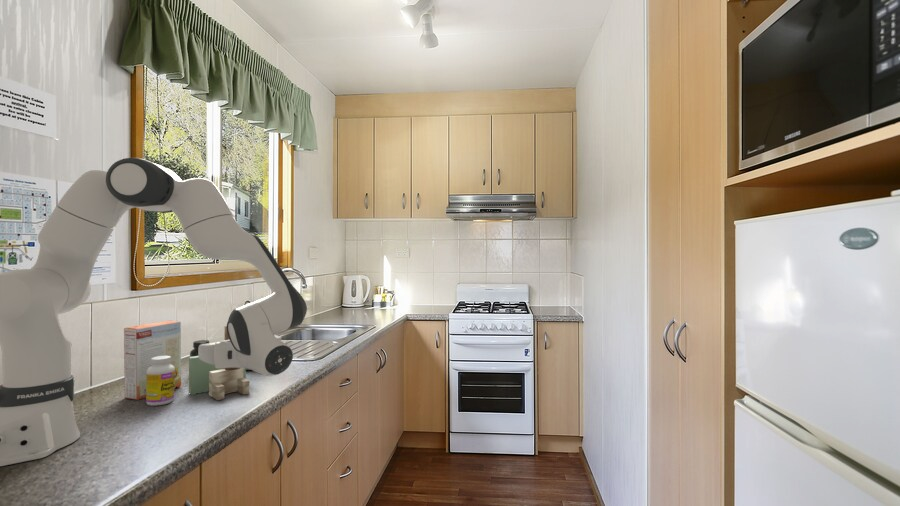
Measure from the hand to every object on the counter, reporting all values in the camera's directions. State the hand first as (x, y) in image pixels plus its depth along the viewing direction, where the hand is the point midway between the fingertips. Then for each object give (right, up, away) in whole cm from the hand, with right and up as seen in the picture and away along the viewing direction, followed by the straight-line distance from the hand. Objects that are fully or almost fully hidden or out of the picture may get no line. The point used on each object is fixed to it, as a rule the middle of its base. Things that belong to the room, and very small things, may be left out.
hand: (231, 343), depth 121 cm
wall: (-12, -17, +14) cm, 25 cm away
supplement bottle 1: (-21, -17, +1) cm, 27 cm away
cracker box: (-29, -17, +10) cm, 35 cm away
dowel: (+1, -7, -1) cm, 7 cm away
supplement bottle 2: (-25, -17, +28) cm, 41 cm away
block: (-5, -17, +8) cm, 20 cm away
